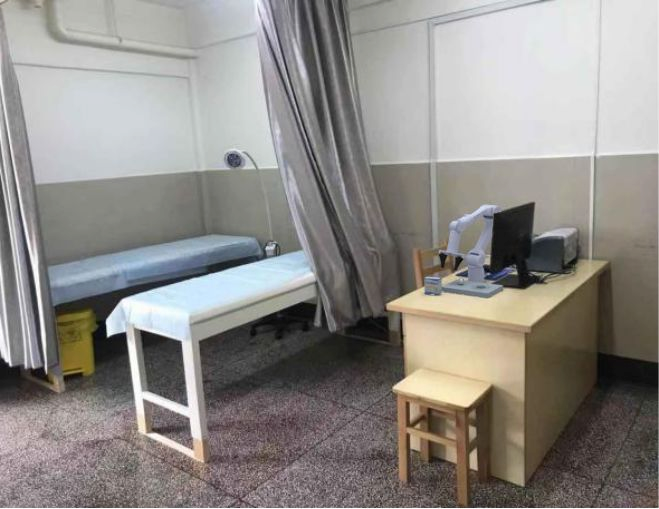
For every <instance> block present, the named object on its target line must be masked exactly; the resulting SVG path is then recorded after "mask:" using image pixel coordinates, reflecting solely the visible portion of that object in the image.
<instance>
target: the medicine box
mask: <svg viewBox="0 0 659 509" xmlns="http://www.w3.org/2000/svg"><path fill="white" fill-rule="evenodd" d="M442 279H443V278H442V277H437V276H426V277H424V294H425V295H426V294H435V295H434V296H440V295H441V293H443V292H442V286H443V285H442V281H443V280H442Z"/></svg>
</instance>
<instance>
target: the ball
mask: <svg viewBox="0 0 659 509" xmlns="http://www.w3.org/2000/svg"><path fill="white" fill-rule="evenodd" d="M457 280H458V284H460V285H463V284H464V282H465V281H466V280H465V279H464V278H462V277H461V278H460V277H459V278H458V279H457Z"/></svg>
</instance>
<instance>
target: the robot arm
mask: <svg viewBox="0 0 659 509" xmlns="http://www.w3.org/2000/svg"><path fill="white" fill-rule="evenodd" d="M497 212H502V209H501V206H500V205H497V204H495V205H492V204H482V205H480V207H479V208H477V210H475V211H474V212H472V213H471V214H467V213H466V214H463V216H462V217H461V218H460V217H459V218H458V219H457V220H453V221H451V222H450V224H449V225H448V230H449V231H448V232H449V237H448V241H447V242H448V243H447V247H446V250H443V249H438V256H439V259H440V260H439V261H440V268H442V269H444V268H445V265H446V261H447V257H448V256H452V257H454V267H453V271H454V272H455V271H456V272H457V271H458V270H459V267H460V266H461V264H462V262H463V261H464V262H465V265H466V267H467V281H472V282H480V283H486V282H485V281H486V280H485V269H484V265H485V264H486V259H487V254H486V253H485V251H486V249H487V248H488V245H489V243H490V241H491V239H492V237H493V235H492V226H493V214H494V213H497ZM481 217H482V218H483V220H484V221H485V225H484V227H483V229H482V232H481V234H480V236H479V238H478V241H476V245H475V246H474V248H473V249H470V250H469V252H468V253H467V254H464V253H460V252H459V248H460V242H461V238H462V237H461V236H462V233H464V231H465V229H466V228H468V227H469V226H471V225H472V224H474V221H475V220H477V219H479V218H481ZM458 252H459V253H458Z"/></svg>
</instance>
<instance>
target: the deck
mask: <svg viewBox="0 0 659 509" xmlns="http://www.w3.org/2000/svg"><path fill="white" fill-rule="evenodd" d="M464 281H465V282H464V284H463V285H460V284H458V279H455V280H453V281H451V282H448V283H446V284H444V285H442V291H444V292H443V293H447V292H449V294H455V293H456V295H462V294H464V295H463V296H469V295H470V297H476V296H477V298H483V297H485V298H484V299H489V298H491V297H493V296H495V295H496V293H497V294H499V293H500V292H499V291H501V290H502V291H504V285H503V284H497V283H496V284H494V283H486V282H483V283H480V282H472V281H468V280H464ZM502 291H501V292H502ZM498 292H499V293H498ZM494 294H495V295H494ZM492 295H493V296H492Z"/></svg>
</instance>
